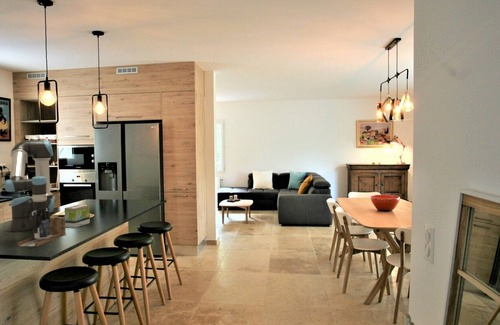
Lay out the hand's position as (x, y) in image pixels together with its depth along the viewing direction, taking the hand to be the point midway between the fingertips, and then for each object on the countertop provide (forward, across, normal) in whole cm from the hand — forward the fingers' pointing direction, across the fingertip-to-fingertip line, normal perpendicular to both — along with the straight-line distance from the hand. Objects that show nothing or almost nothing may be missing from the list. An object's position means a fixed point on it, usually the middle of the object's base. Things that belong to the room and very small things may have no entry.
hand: (41, 236), depth 205 cm
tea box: (+3, +39, +1) cm, 39 cm away
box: (0, 0, 0) cm, 0 cm away
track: (+3, 0, 0) cm, 3 cm away
